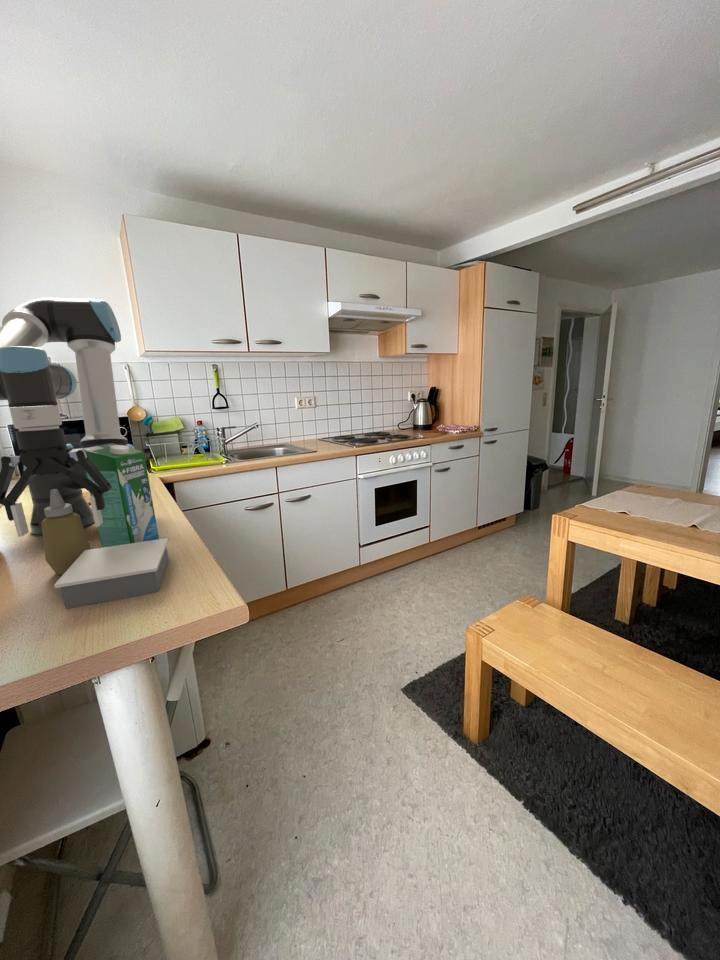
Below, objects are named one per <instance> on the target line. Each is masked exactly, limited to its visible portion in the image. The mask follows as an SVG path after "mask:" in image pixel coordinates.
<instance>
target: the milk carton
mask: <svg viewBox="0 0 720 960" xmlns="http://www.w3.org/2000/svg"><path fill="white" fill-rule="evenodd" d="M83 449H85V450H86V451H87V454H88V457H89V459H90V461H91V462H92V463H93V464H94V465H95V467H96V468H97V469H98V470H99V471H100V473H101V474H102V475H103V476H104V477H105V479H106V480H107V481H108V482H109V483H110V485H111V486H112V488H111V489H110V490H109V491H107V492H105V493H103V498H104V503H105V508H104V509H103V510H101V514H102V518H103V523H102V524H101V525H100V526H97V527H96V529H97V532H98V537H99V542H100V546H101V547H100V548H103V547H110V546H117V545H124V544H131V543H137V542H144V541H151V540H157V538H159V537H160V536H159V530H158V529H159V528H158V526H157V525H158V524H157V520H156V519H157V518H156V513H155V508H154V503H153V502H154V500H153V496H152V490H151V484H150V480H149V473H148V467H147V462H146V455H145V451H142V450H138V449H136V448H135V449H132V448H129V447H128V446H124V445H117V444H113V443H110V444H105V445H100V446H94V447H89V448H83ZM85 472H86V470H85ZM86 477H87V478H88V479H89V480H91V481H92V482H93V483H95V484H96V485H97V483H96V482H95V481H94V480H93V479H92V477H91V476H90V475H89V474H88V473H87V472H86ZM97 486H98V485H97ZM89 495H90V496H89V497H91V496H92V495H93V494H92V493H90V492H89Z"/></svg>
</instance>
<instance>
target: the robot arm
mask: <svg viewBox="0 0 720 960" xmlns="http://www.w3.org/2000/svg"><path fill="white" fill-rule="evenodd" d="M1 323H2V324H1V325H2V326H0V401H7V402H8V403H7V404H8V408H9V413H10V417H11V420H12V425H13V428H14V429H18V431H16V432H15V437H16V443H17V445H18V450H19V452H20V453H19V455H13V454H8V455H4V456H2V457H0V463H1V469H0V505H2V506H4V508H5V512H6V513H5V514H6V516H7V519H8V521H9V522H11V521H13V522H14V527H15V531H16V534H17V537H18V538H19V537H21V538H22V537H24V536H25V535H27V534H28V533H30V532H29V527H28V523H27V519H26V515H25V511H24V507H23V504H22V501H20V502H18V499H19V498H20V497H21V495H22V494H23V492H24V491H25V490H26V488H27V487H28V489H29V494H30V497H31V501H32V510H31V515H30V516H31V518H30V523H29V526H30V530H31V533H32V534H33V535H37V536H43V534H42V525H41V522H42V521H43V520H44V519H45V518H47V517H46V516H45V512H44V509H45V508H47V507H49V506H50V490H53V489H58V491H59V493H60V495H61V497H62V499H63V501H64V503H65V504H71V505H72V509H73V512H72V513H76V514H79V516H80V518H81V521H82V524H83V527H84V528H85V527H87V526H89V525H91V524H93V523H94V525H95V526H94V527H96V528H97V526H100V525H101V524H102V523H103V518H102V514H101V510H103V509H104V508H105V503H104V498H103V493H105V492H107V491H109V490H110V489H111V488H112V486H111V485H110V483H109V482H108V481H107V480H106V479H105V477H104V476H103V475H102V474H101V473H100V471H99V470H98V469H97V468H96V467H95V465H94V464H93V463H92V462H91V461H90V459H89V457H88V454H87V451H86V450H85V449H83V448H89V447H94V446H100V445H105V444H110V443H113V444H117V445H124V446H128V447H129V448H132V449H136V448H135V446H134V445H133V444H130V443H128V438H127V437H125V436H123V435H122V433H121V427H120V426H121V425H120V419H119V412H118V411H119V410H118V405H117V396H116V389H115V387H116V386H115V381H114V373H113V363H112V357H111V355H112V354H113V353H114V351H116V343H120V342H121V341H122V334H121V329H120V326H119V323H118V320H117V318H116V316H115V313H114V311H113V309H112V307H111V306H110V304H109V303H108V302H107V301H105V300H103V299H98V298H97V299H96V298H94V299H93V298H67V297H66V298H65V297H64V298H63V297H62V298H60V297H59V298H58V297H56V298H55V297H54V298H53V297H41V298H36V299H32V300H30V301H27V302H25V303H22V304H20V305H18V306H16V307H15V308H12V309H11V310H10V311H9V312H7V314H5V316H3V319H2V321H1ZM46 343H66V344H67V347H68V348H69V349H70V350H71V351H73V352H74V354H75V364H76V370H77V371H76V372H77V378H78V386H79V393H80V400H81V402H80V403H81V407H82V415H83V424H84V431H85V436H84V437H82V438H81V440H80V441H79V442H80V443H79V444H80V448H74V446H73V445H72V444H71V443H67V441H66V436H65V435H66V434H65V432H64V429H63V428H60V426H62V424H63V423H62V418H61V413H60V409H59V404H58V400H59V399H60V400H61V399H62V400H63V399H64V398H67V397H70V396H71V395H72V394H74V393H75V391H76V389H77V379H76V376H75V374H73V372H72V371H71V370H70V369H68V368H67V367H65V366H64V365H61V364H58V363H56V362H51V361H50V360H49V357H48V355H47V351H46V350H45V349H43V348H41V347H43V346H44V345H45V344H46ZM20 463H21V464H22V465H23V466H22V467H23V473H22V474H21V476H20V478H19V479H18V481H17V482H16V483H15V485H14V486H13V487H12V489H11V490H10V491H9V493H8V489H9V487H10V484H11V482H12V479H13V476H14V473H15V470H16V467H17V466H19V464H20ZM85 470H86V472H87V473H88V474H89V475H90V476H91V477H92V479H93V480H94V481H95V482H96V483H97V485H98V486H97V485H96V484H95V483H93V482H92V481H91V480H89V479H88V478H87V477H86V472H85ZM83 489H85V490H86V491H88V493H89V494H90V493H92V494H93V495H92V496H89V502H90V503H88V502H87V500H86V498H85V497H84V492H83ZM7 493H8V494H7Z"/></svg>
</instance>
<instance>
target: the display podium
mask: <svg viewBox="0 0 720 960" xmlns="http://www.w3.org/2000/svg"><path fill="white" fill-rule="evenodd" d="M168 542H169V538H168V537H166V538H160V539H159V538H158V539H154V540H151V541H144V542H137V543H131V544H124V545H117V546H110V547H103V548H102V547H97V548H91V549H90V550H84V552H83V553H82V554H81V555H80V556H79V557H78V558H77V560H76V561H75V562H74V563H73V564H72V565H71V566H70V568H69V569H68V570H67V571H66V572H65V573H64V574H63V575H61V577H60V578H59V579H57V581H56V582H55V583H54V589H58V588H59V591H60V595H61V598H62V603H63V606H64V609H73V608H77V607H83V606H87V605H93V604H99V603H104V602H110V601H114V600H120V599H121V600H122V599H125V598H131V597H132V598H133V597H135V596H141V595H146V594H147V595H148V594H152V593H158V592H159V591H160V588H161V584H162V582H163V578H164V576H165V573H166V570H167V566H168V564H169V560H170V559H169V554H168V549H167V548H168V547H167V545H168Z"/></svg>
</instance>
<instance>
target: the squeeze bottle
mask: <svg viewBox="0 0 720 960" xmlns="http://www.w3.org/2000/svg"><path fill="white" fill-rule="evenodd" d="M44 512H45V516H46V517H47V518H45V519H44V520H43V521H42V522H41V525H42V534H43V535H42V541H43V550H44V558H45V559H44V560H45V561H46V563H47V565H49V567H51V569H52V571H53V572H54V573H55V574H56V575H58V576H59V575H60V576H63V574H64V573H65V572H66V571H67V570H68V569H69V568H70V566H71V565H72V564H73V563H74V562H75V561H76V560H77V558H78V557H79V556H80V555H81V554H82V553H83V552H84V550H90V549H92V546H91V544H90V541H89V539H88V535H87V533H86V529H85V527H83V524H82V521H81V518H80V516H79V514H76V513H72V512H73V509H72V505H71V504H65V503H64V501H63V499H62V497H61V495H60V493H59V491H58V489H53V490H50V506H49V507H47V508H45V509H44Z"/></svg>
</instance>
